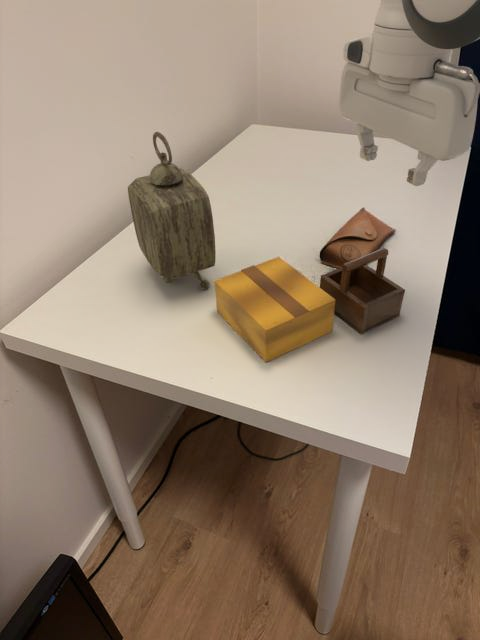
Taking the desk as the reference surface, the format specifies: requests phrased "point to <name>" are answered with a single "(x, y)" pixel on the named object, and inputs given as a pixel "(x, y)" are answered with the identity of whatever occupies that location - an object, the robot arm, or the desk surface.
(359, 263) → the basket
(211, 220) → the tabletop clock
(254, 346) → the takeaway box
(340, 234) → the sunglasses case
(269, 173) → the desk surface
